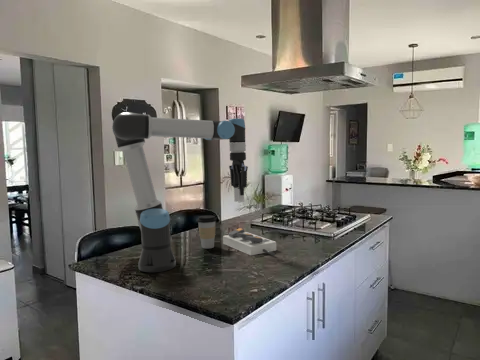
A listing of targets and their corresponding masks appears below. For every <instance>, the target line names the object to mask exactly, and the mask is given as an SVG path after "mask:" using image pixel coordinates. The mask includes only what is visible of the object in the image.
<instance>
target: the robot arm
mask: <svg viewBox="0 0 480 360" xmlns="http://www.w3.org/2000/svg"><path fill="white" fill-rule="evenodd" d="M111 127H112V128H111V129H112V133H113V135H114V138H115V142H116V145H117V149H119V150H120V151H122V153H123V158H124V160H125V164H126V168H127V171H128V176H129V179H130V182H131V187H132V190H133V193H134V197H135V201H136V207H135V208H134V211H135V214H136V215H135V216H136V217H137V224H138V227H139V229H140V236H141V237H140V238H141V239H140V240H141V252H140V256H139V260H138V263H137V264H138V265H137V266H138V270H139V271H140V272H145V273H160V272H161V273H162V272H166V271H169V270H172V269H174V268H175V267H176V266H177V261H176V258H175V254H174V251H173V249H172V244H171V243H172V242H171V241H172V240H171V225H170V224H171V223H170V221H171V217H170V213H169V211H168V210H166V209H165V208H163V204H162V202H161V201H160V200H158V199H157V196H156V192H155V189H154V185H153V180H152V177H151V173H150V170H149V165H148V162H147V157H146V154H145V150H144V145H145V143H146V140H148V139H150V138H152V137H156V138H158V137H159V138H160V137H161V138H162V137H163V138H183V139H184V138H189V139H191V138H192V139H204V140H206V141H217V140H219V141H221V140H228V141H229V143H228V144H229V152H230V153H229V160H230V161H231V162H232V163H231V165H228V168H229V173H230V185H231V187H232V188H233V195H234V197H233V198H234V202H235V203H236V202H237V203H244V202H245V188H247V187H248V186H247V185H248V168H249V166H248V165H245V161H246V160H247V151H246V147H247V145H246V122H245V119H244V118H239V117H237V118H229V119H228V120H222V121H220V120H203V119H189V118H172V117H171V118H170V117H169V118H168V117H167V118H166V117H154V116H153V117H152V116H151V115H150V114H145V113H144V114H143V113H136V112H131V111H124V112H121V113H119V114H117V115H116V116H115V118H114V119H113V122H112V126H111Z"/></svg>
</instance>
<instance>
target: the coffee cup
mask: <svg viewBox="0 0 480 360" xmlns="http://www.w3.org/2000/svg"><path fill="white" fill-rule="evenodd" d="M216 222H217V217H216V216H215V215H210V214H209V215H208V214H207V215H206V214H205V215H200V216H199V217H198V218H197V223H198V230H199V231H198V234H199V238H200V243H201V248H202V249H205V250H206V249H212V248H214V247H215V236H216Z"/></svg>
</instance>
